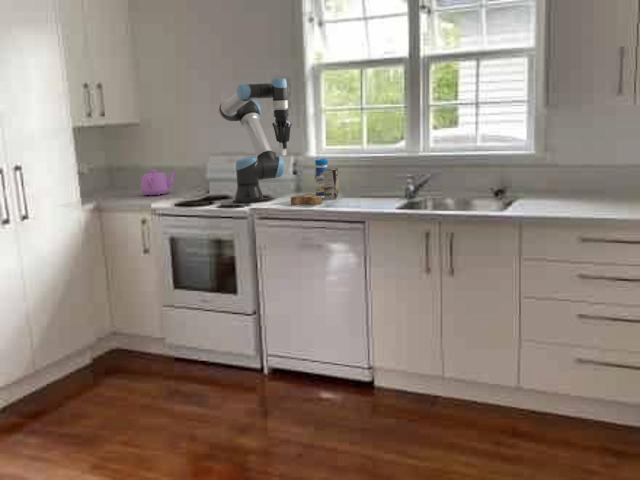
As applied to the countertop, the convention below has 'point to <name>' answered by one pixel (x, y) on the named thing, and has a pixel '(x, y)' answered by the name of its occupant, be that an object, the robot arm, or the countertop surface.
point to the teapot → (156, 183)
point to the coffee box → (331, 184)
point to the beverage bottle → (320, 175)
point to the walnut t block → (306, 200)
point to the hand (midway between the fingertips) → (283, 155)
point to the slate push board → (288, 203)
